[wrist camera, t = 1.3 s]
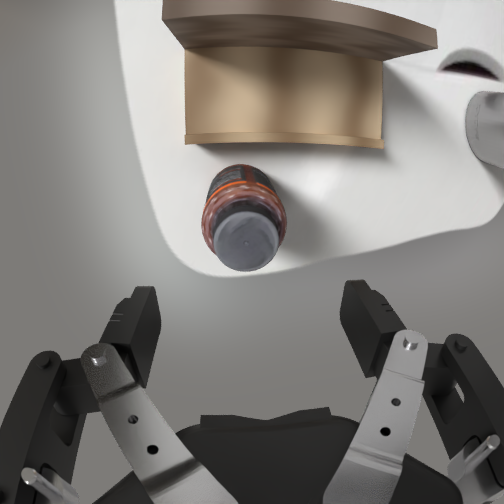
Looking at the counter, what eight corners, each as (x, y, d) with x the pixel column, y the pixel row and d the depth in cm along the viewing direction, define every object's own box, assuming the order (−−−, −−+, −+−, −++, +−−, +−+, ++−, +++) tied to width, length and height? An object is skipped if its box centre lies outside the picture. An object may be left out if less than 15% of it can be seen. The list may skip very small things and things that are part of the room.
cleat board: (370, 50, 22) (436, 29, 12) (368, 144, 26) (434, 165, 17) (189, 40, 21) (163, -2, 11) (190, 141, 26) (163, 157, 16)
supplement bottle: (197, 201, 28) (176, 254, 18) (233, 150, 26) (232, 173, 16) (247, 234, 30) (255, 300, 20) (284, 187, 28) (314, 231, 18)
